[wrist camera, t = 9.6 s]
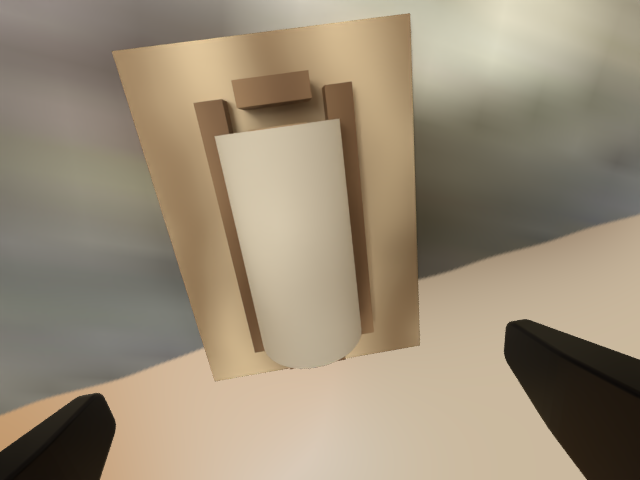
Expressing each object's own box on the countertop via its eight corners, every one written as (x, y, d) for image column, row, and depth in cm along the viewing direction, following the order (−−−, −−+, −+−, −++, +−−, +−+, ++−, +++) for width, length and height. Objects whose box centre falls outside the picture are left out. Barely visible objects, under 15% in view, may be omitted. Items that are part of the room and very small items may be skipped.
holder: (218, 367, 21) (205, 414, 18) (125, 56, 15) (77, 37, 12) (413, 333, 22) (436, 372, 18) (401, 21, 16) (432, -8, 12)
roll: (351, 300, 19) (372, 359, 14) (266, 314, 19) (259, 378, 14) (331, 118, 16) (349, 115, 11) (227, 133, 15) (199, 137, 11)
